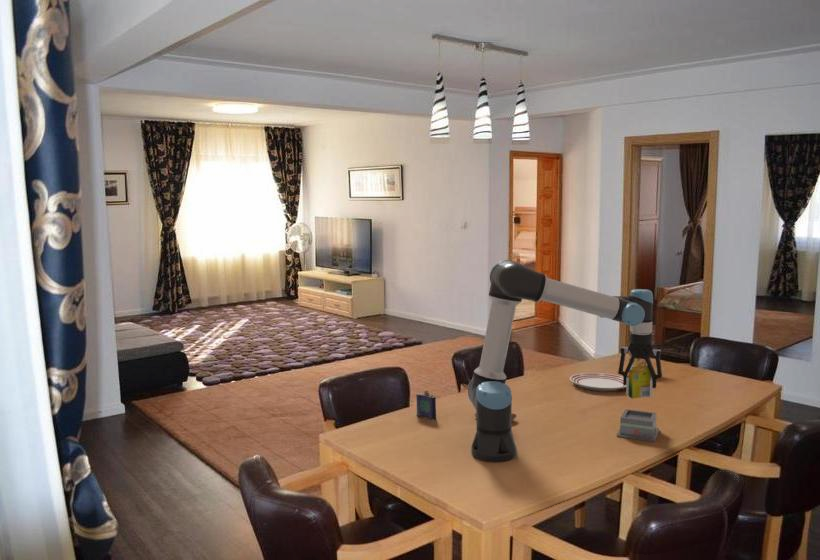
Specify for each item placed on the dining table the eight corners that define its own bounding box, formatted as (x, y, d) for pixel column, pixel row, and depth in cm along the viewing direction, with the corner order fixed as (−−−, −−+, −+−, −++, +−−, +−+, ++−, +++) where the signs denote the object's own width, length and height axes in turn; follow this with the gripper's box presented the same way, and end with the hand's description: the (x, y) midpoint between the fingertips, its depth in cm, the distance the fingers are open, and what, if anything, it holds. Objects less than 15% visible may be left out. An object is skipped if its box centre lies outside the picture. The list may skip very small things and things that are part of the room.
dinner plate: (582, 375, 315) (582, 368, 314) (639, 383, 299) (640, 376, 298) (560, 388, 293) (560, 381, 292) (620, 398, 277) (620, 391, 276)
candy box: (635, 375, 313) (636, 344, 311) (627, 373, 316) (628, 342, 314) (646, 372, 318) (647, 341, 316) (638, 370, 321) (639, 340, 319)
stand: (655, 442, 226) (655, 423, 225) (616, 436, 232) (617, 418, 231) (659, 430, 237) (659, 412, 236) (622, 425, 243) (622, 407, 242)
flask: (415, 415, 258) (415, 389, 257) (419, 413, 260) (419, 387, 259) (433, 420, 252) (433, 393, 251) (438, 418, 255) (438, 391, 253)
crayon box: (646, 394, 235) (647, 363, 234) (651, 397, 232) (651, 365, 231) (627, 396, 234) (628, 364, 232) (632, 398, 231) (632, 366, 229)
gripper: (672, 332, 229) (670, 395, 232) (613, 328, 238) (612, 389, 241) (670, 336, 222) (668, 401, 225) (609, 332, 231) (608, 394, 234)
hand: (639, 395), depth 233 cm, fingers closed on crayon box, 7 cm apart
